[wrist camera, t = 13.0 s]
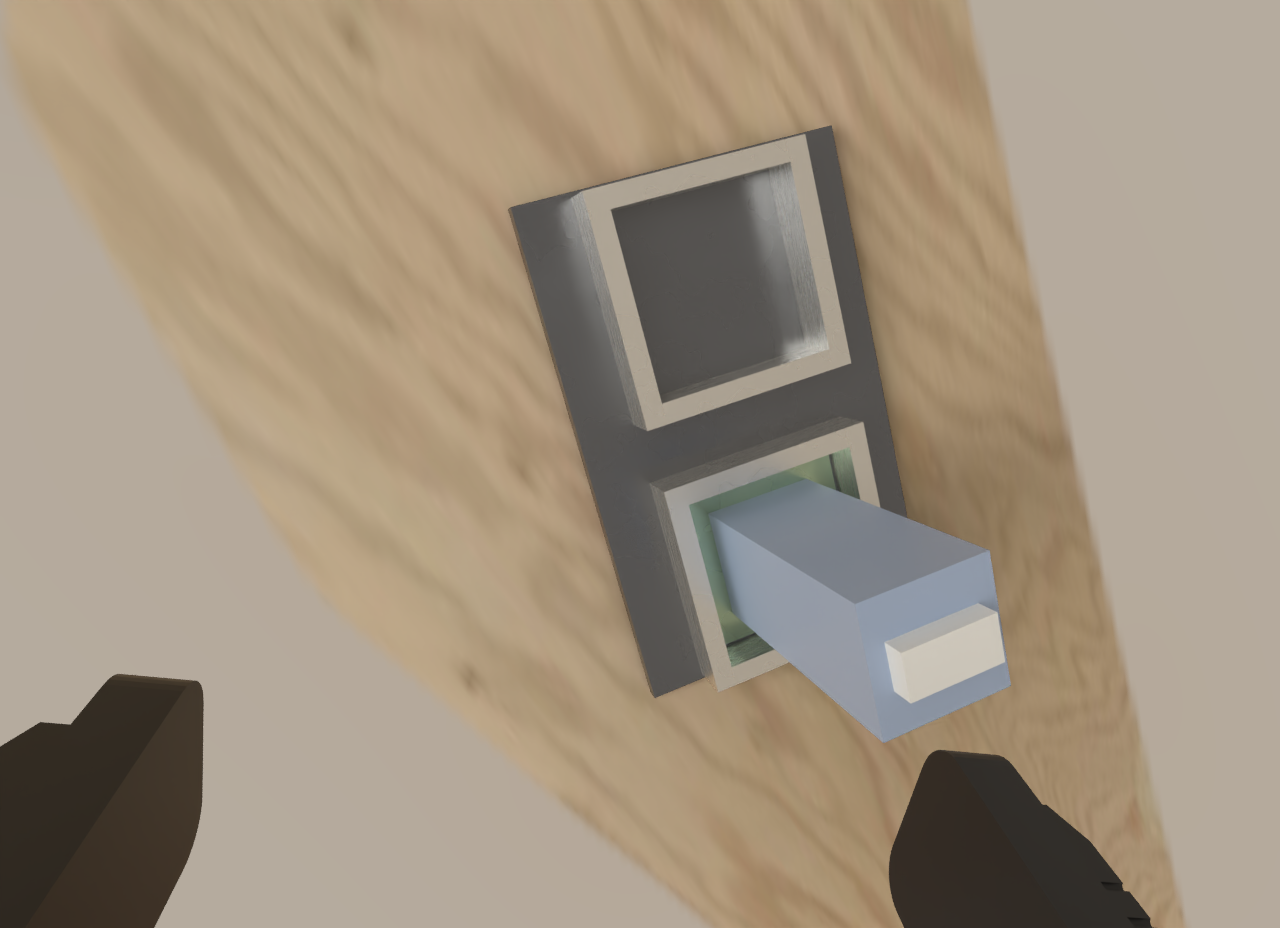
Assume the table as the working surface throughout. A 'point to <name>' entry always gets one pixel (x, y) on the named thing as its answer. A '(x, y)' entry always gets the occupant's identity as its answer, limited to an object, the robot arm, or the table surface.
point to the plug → (865, 603)
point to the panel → (708, 373)
